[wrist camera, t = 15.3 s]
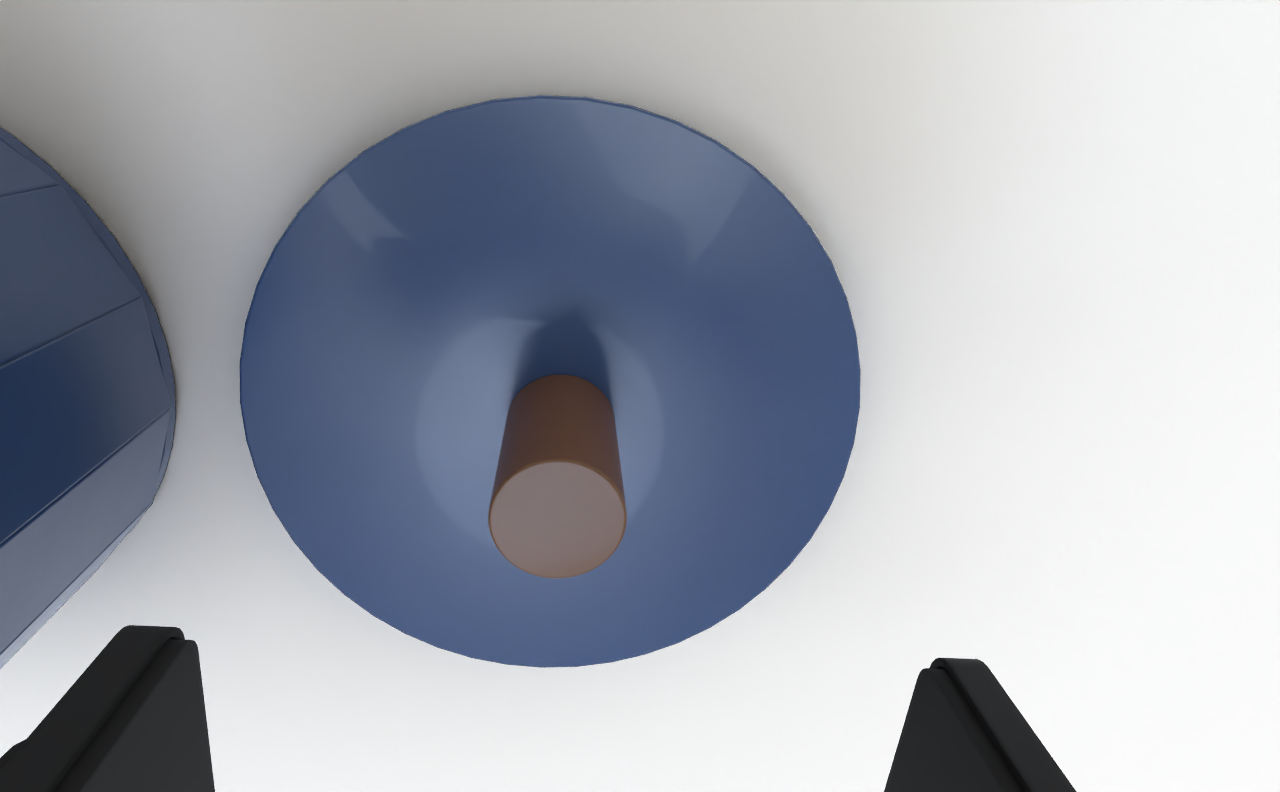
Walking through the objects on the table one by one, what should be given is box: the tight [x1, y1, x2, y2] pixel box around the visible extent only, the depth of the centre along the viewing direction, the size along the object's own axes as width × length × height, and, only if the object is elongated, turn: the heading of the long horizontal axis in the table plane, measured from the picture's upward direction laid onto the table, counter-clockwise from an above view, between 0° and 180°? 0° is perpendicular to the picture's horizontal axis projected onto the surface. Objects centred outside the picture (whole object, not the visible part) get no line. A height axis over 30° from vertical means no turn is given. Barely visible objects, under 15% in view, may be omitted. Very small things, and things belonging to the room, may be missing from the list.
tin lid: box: [240, 95, 860, 667], centre depth 17 cm, size 15×15×6 cm
